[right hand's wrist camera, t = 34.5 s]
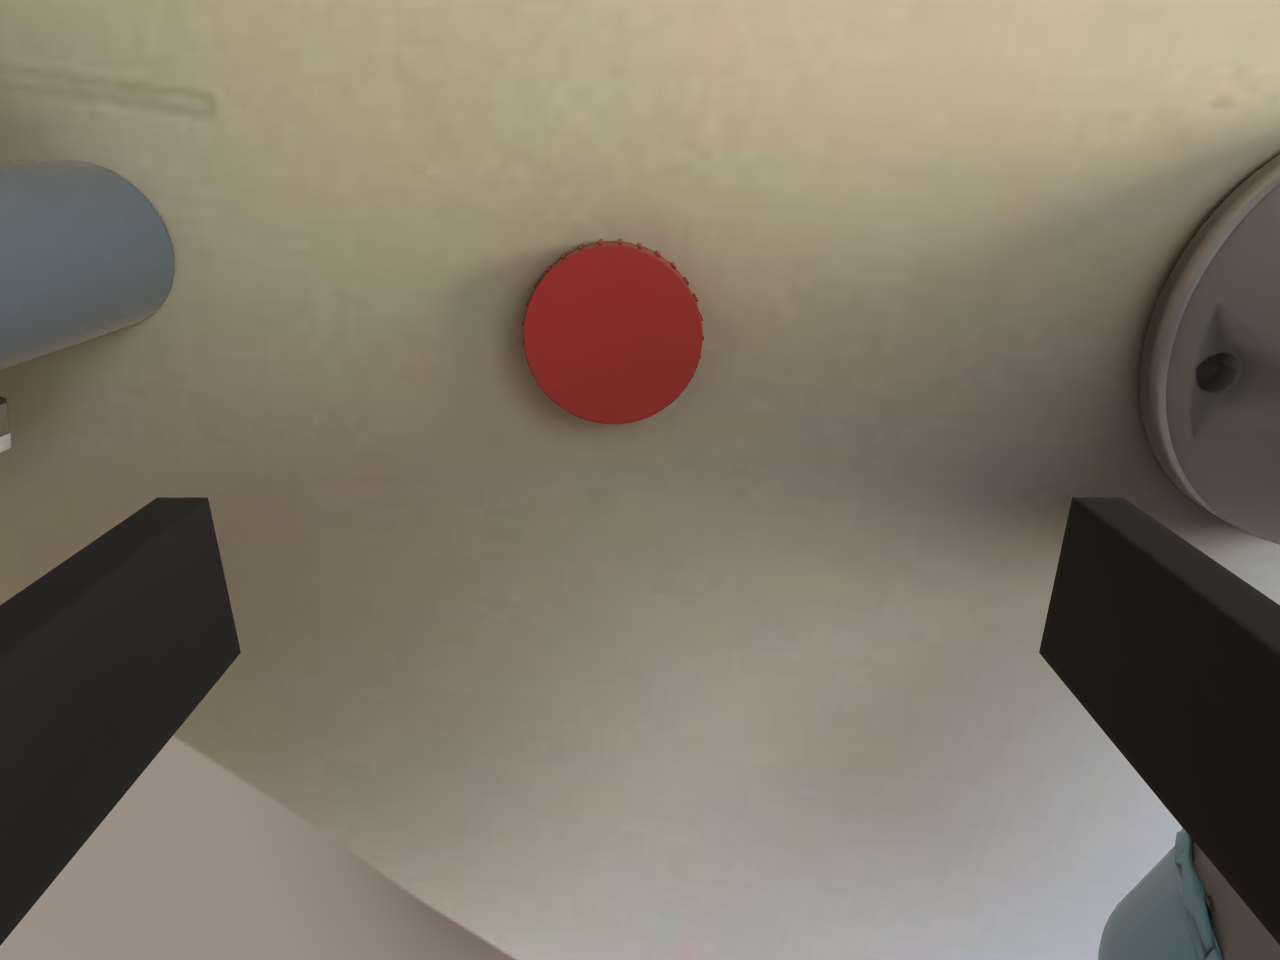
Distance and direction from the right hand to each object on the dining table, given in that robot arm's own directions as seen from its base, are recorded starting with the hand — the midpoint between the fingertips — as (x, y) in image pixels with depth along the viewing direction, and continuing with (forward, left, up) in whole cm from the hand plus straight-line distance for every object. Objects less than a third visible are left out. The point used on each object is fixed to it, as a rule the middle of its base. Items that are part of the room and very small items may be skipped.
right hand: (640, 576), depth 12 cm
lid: (0, -1, -16) cm, 16 cm away
